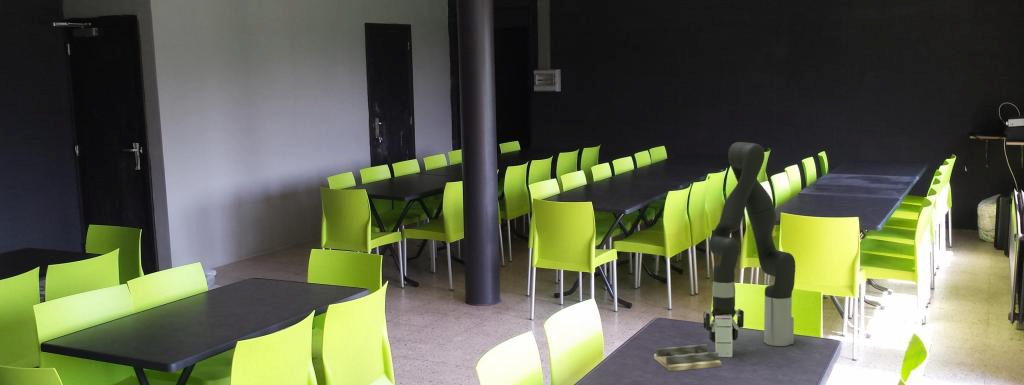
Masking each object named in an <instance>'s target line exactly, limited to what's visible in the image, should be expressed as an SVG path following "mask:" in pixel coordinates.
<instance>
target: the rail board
mask: <svg viewBox="0 0 1024 385" xmlns="http://www.w3.org/2000/svg"><path fill="white" fill-rule="evenodd" d="M718 354H719V353H718V352H715V351H713V352H708V344H707V343H705V344H704V343H703V344H694V345H693V344H692V345H681V346H673V347H670V346H669V347H661V348H656V352H655V353H653V358H654V360H656V362H658V363H659V364H660V365H661V366H663V367H664V368H665V369H666V370H667V371H669V372H675V371H677V372H678V371H679V372H680V371H687V370H696V369H697V370H698V369H707V368H718V367H719V368H721V367H722V361H720V360H719V357H718Z"/></svg>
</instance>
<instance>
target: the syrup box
mask: <svg viewBox="0 0 1024 385" xmlns="http://www.w3.org/2000/svg"><path fill="white" fill-rule="evenodd" d="M716 323H717V326H716V325H715V331H714V332H715V342H714V345H715V347H714V349H715V351H714V352H718V353H719V354H718V358H733V339H732V328H733V327H732V315H728V314H724V315H722V316H721V315H718V316H715V324H716Z"/></svg>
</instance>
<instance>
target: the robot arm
mask: <svg viewBox="0 0 1024 385" xmlns="http://www.w3.org/2000/svg"><path fill="white" fill-rule="evenodd" d="M765 155H766V153H765V149H764V148H763V147H762V145H761V144H758V143H755V142H754V143H753V142H742V141H737V142H734V143H732V144H731V146H730V147H729V149H728V155H727V157H728V163H729V166H730V168H731V170H732V172H733V175H734V177H735V179H736V181H737V183H736V185H735V186H734V188H733V190H732V191H731V192H730V193H729V195H728V196H727V197H726V199H725V201H724V204H723V207H722V210H721V214H720V218H719V222H718V224H717V225H716V227H715V229H714V230H713V232H712V234H711V236H710V239H709V243H708V244H709V246H708V247H709V250H710V252H711V253H712V254H713V255H715V256H718V257H720V258H721V259H720V261H719V262H718V263H716V264H714V266H713V272H712V273H713V274H712V275H713V278H712V279H713V280H712V282H713V283H712V298H711V299H712V302H711V303H712V304H711V305H712V306H711V307H712V310H711V311H710V312H709V311H708V312H706V311H704V312H703V329H705V330H706V331H708V334H709V336H708V338H709V340H710V342H711V343H715V325H716V326H717V323H716V324H715V316H718V315H721V316H722V315H724V314H728V315H732V341H737V339H738V337H739V329H741V328H743V327H744V323H745V322H744V320H745V318H744V317H745V312H744V310H742V309H740V308H738V309H736V308H735V307H736V283H735V278H736V277H735V275H736V274H735V269H736V267H737V261H738V258H739V254H740V245H739V242H738V240H736V239H735V238H733V237H730V236H731V233H732V232H735V231H739V230H740V228H741V225H742V222H743V221H742V220H743V217H744V215H745V214H744V213H745V211H746V214H747V217H748V220H749V223H750V226H751V230H752V234H753V237H754V241H755V245H756V252H757V256H758V263H759V267H760V269H761V270H762V272H763V273H764V274H766V275H768V276H771V277H774V283H773V284H771V285H767V286H765V288H764V320H763V322H764V323H763V324H764V325H763V326H764V328H763V331H764V332H763V342H764V344H766V345H768V346H772V347H787V346H790V345H793V344H794V339H795V338H794V334H795V333H794V330H795V326H794V325H795V318H794V317H793V316H792V314H793V313H792V308H793V307H792V306H793V304H792V303H793V300H792V299H793V290H794V289H795V282H796V281H795V278H796V259H795V257H794V255H792V253H790V252H788V251H787V252H785V251H783V250H778V249H777V247H776V244H775V243H774V239H773V233H774V232H773V231H774V229H775V225H776V222H777V221H776V220H777V212H776V209H775V206H774V203H773V200H772V198H771V195H770V194H769V193H768V191H767V190H766V189H765V188H764V186H763V185H762V184H761V182H760V181H759V179H758V177H759V174H760V172H761V170H762V167H763V164H764V162H765ZM735 316H736V317H737V319H736V321H735V319H734V317H735ZM711 318H713V319H712V320H711Z"/></svg>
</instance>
